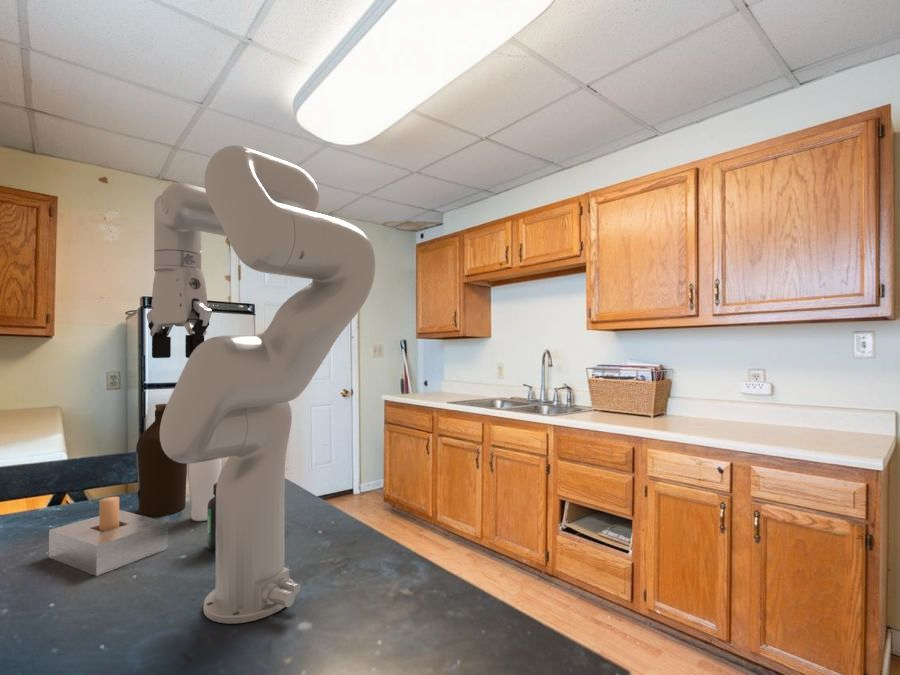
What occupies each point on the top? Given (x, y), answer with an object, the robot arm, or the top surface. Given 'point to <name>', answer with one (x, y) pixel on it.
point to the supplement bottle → (211, 522)
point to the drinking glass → (202, 486)
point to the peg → (108, 514)
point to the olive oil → (158, 474)
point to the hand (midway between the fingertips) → (177, 357)
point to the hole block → (107, 542)
